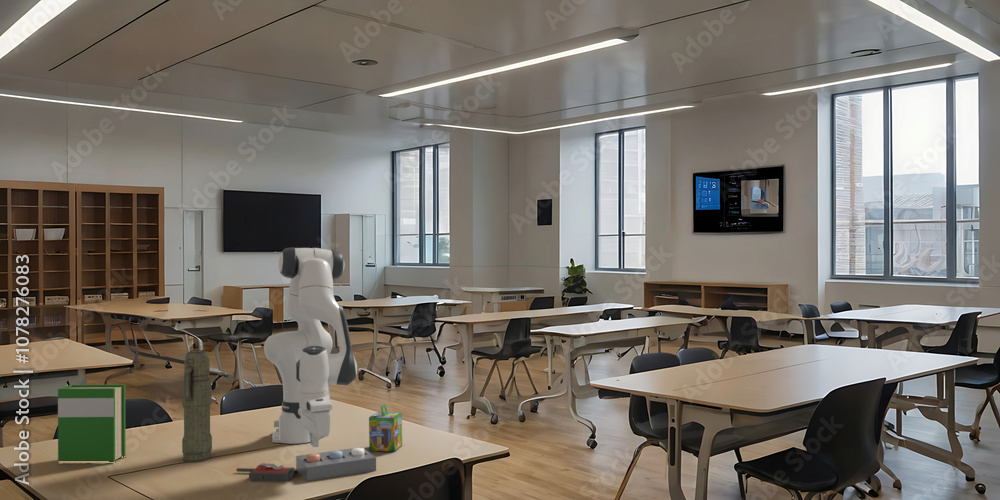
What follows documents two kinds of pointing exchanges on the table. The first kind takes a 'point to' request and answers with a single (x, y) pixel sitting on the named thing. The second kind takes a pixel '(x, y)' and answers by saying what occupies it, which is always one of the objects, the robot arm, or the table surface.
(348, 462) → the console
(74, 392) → the hardback book
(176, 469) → the table surface
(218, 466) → the table surface
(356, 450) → the white ellipsoid
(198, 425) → the thermos
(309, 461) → the orange egg
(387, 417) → the chalk box
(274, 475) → the walkie-talkie
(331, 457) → the pale blue egg shape
